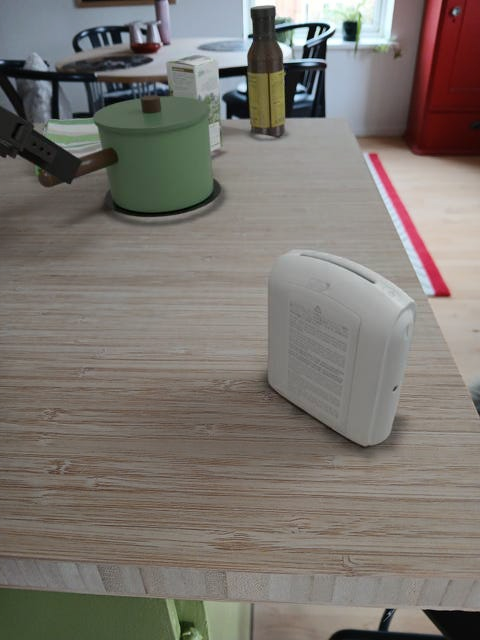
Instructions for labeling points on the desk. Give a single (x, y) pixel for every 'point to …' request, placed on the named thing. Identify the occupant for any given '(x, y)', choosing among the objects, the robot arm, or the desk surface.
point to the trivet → (119, 209)
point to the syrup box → (198, 88)
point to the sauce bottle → (265, 75)
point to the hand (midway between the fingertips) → (39, 159)
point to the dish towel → (73, 136)
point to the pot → (152, 153)
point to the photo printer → (338, 342)
